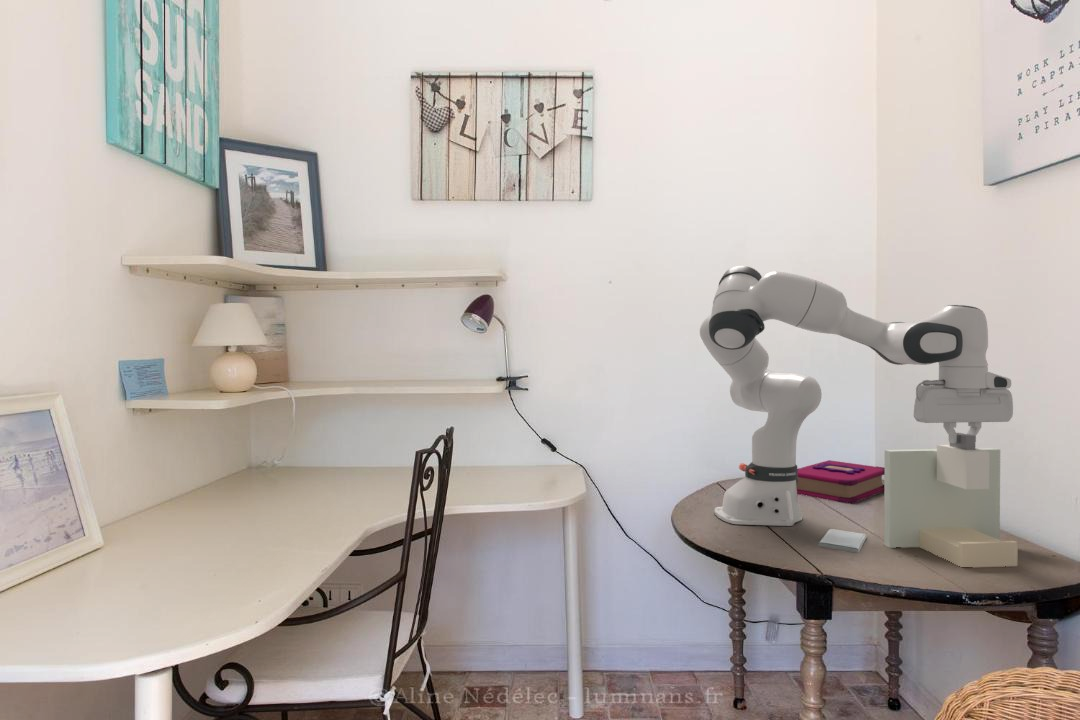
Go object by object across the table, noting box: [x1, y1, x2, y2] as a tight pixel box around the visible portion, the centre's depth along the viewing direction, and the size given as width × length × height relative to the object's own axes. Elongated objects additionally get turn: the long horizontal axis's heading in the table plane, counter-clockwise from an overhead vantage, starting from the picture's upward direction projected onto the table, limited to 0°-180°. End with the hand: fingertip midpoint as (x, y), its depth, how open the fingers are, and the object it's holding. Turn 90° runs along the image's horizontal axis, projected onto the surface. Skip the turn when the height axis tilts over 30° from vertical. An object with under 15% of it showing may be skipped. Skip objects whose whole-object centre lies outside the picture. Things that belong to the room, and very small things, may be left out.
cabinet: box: [936, 432, 989, 489], centre depth 134 cm, size 5×9×11 cm, turn 3°
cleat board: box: [883, 447, 1019, 568], centre depth 134 cm, size 26×15×22 cm, turn 93°
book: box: [796, 459, 885, 504], centre depth 194 cm, size 21×28×8 cm
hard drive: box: [818, 528, 867, 554], centre depth 143 cm, size 2×8×12 cm
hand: (962, 442), depth 134 cm, fingers closed on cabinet
